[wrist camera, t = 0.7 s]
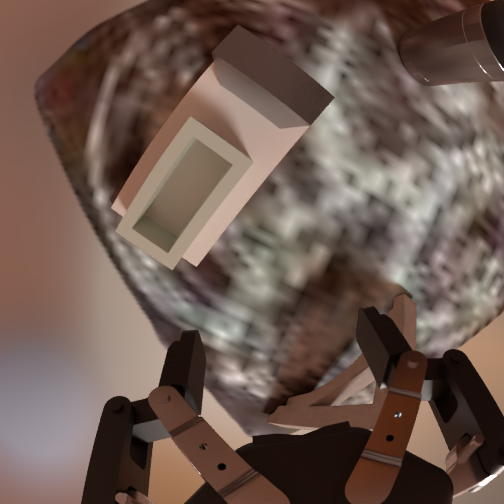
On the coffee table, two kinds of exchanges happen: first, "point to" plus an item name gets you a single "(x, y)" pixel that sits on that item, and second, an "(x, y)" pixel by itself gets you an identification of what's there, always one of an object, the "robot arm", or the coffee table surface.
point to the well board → (199, 173)
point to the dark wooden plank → (268, 80)
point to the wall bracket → (346, 387)
